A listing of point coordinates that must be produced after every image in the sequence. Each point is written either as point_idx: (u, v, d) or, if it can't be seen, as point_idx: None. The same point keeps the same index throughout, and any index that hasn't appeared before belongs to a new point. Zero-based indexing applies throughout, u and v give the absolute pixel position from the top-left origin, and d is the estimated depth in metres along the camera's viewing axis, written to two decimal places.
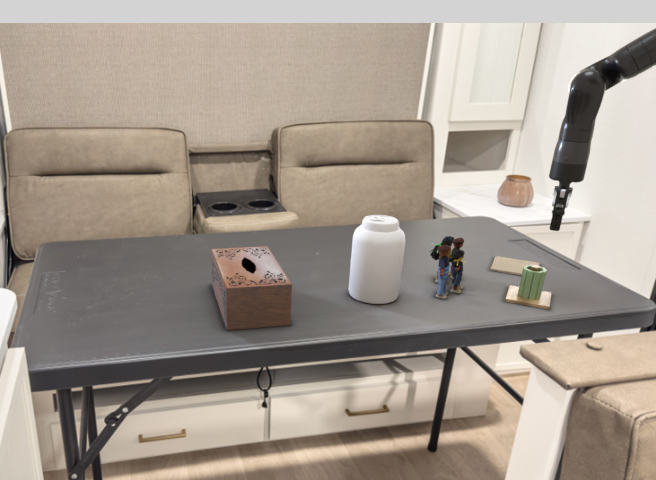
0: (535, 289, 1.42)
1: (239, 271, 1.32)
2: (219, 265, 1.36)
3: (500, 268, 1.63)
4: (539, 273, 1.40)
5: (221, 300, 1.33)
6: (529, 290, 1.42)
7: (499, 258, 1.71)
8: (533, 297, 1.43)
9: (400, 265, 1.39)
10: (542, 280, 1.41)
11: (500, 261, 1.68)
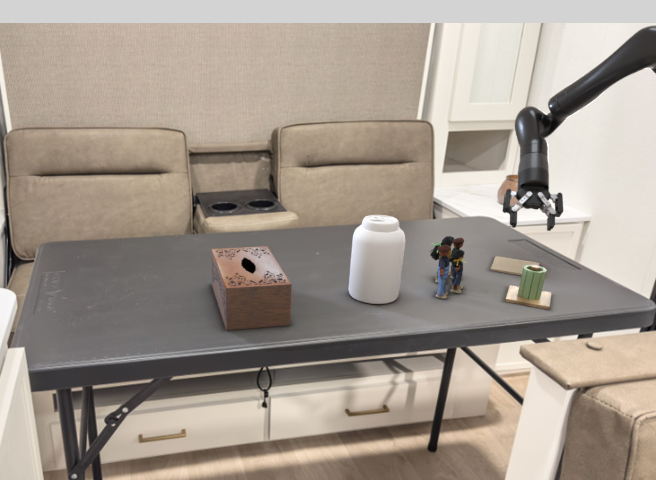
0: (535, 289, 1.42)
1: (239, 271, 1.32)
2: (219, 265, 1.36)
3: (500, 268, 1.63)
4: (539, 273, 1.40)
5: (221, 300, 1.33)
6: (529, 290, 1.42)
7: (499, 258, 1.71)
8: (533, 297, 1.43)
9: (400, 265, 1.39)
10: (542, 280, 1.41)
11: (500, 261, 1.68)
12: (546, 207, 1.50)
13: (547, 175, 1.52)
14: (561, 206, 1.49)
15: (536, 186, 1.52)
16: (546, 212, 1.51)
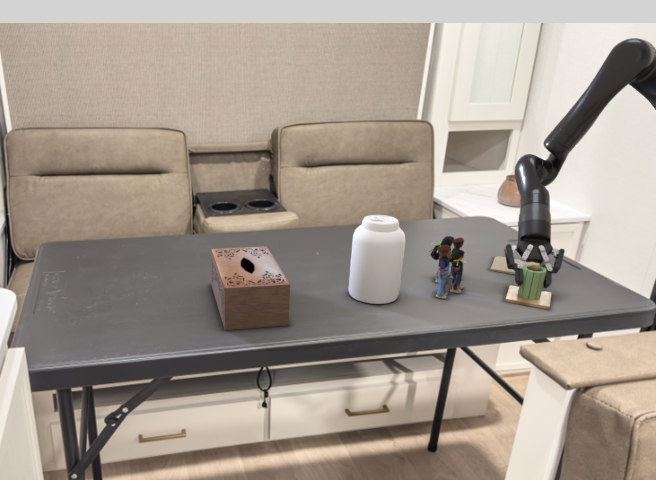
0: (535, 289, 1.42)
1: (238, 271, 1.32)
2: (218, 265, 1.36)
3: (500, 268, 1.63)
4: (539, 273, 1.40)
5: (220, 300, 1.33)
6: (529, 290, 1.42)
7: (499, 258, 1.71)
8: (533, 297, 1.43)
9: (400, 265, 1.39)
10: (542, 280, 1.41)
11: (500, 261, 1.68)
12: (544, 262, 1.43)
13: (549, 227, 1.45)
14: (559, 263, 1.42)
15: (537, 238, 1.45)
16: (544, 267, 1.44)
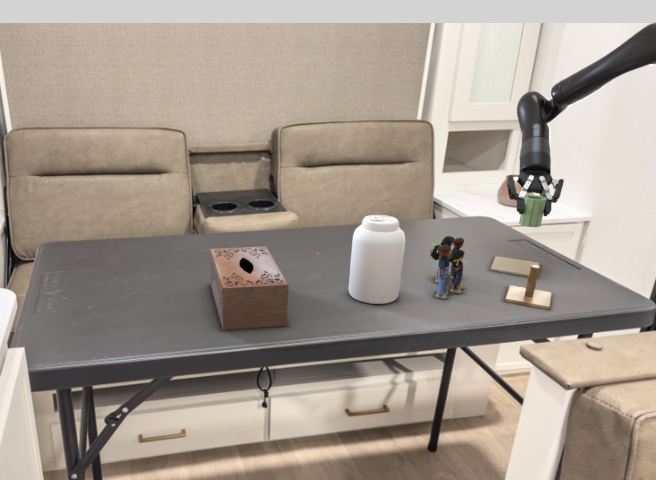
0: (536, 217, 1.49)
1: (236, 271, 1.32)
2: (217, 265, 1.36)
3: (500, 268, 1.63)
4: (539, 201, 1.48)
5: (218, 300, 1.33)
6: (530, 218, 1.50)
7: (499, 258, 1.71)
8: (534, 225, 1.50)
9: (400, 265, 1.39)
10: (542, 208, 1.49)
11: (500, 261, 1.68)
12: (544, 191, 1.50)
13: (549, 159, 1.52)
14: (559, 192, 1.50)
15: (538, 170, 1.52)
16: None
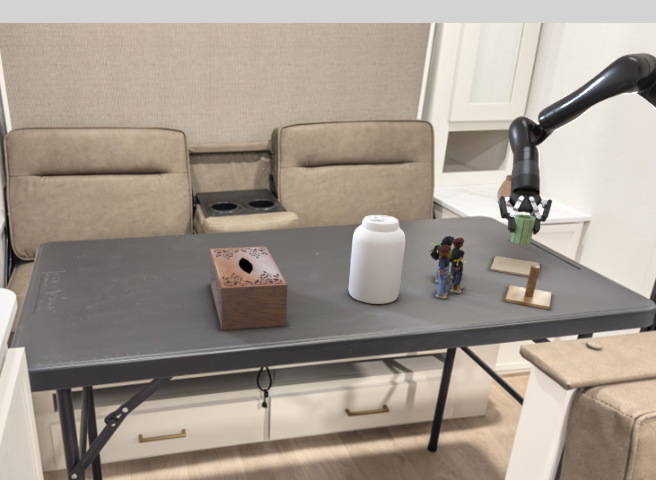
0: (525, 235, 1.59)
1: (236, 271, 1.32)
2: (216, 265, 1.36)
3: (500, 268, 1.63)
4: (529, 220, 1.57)
5: (217, 300, 1.33)
6: (520, 236, 1.60)
7: (499, 258, 1.71)
8: (524, 242, 1.60)
9: (400, 265, 1.39)
10: (532, 227, 1.59)
11: (500, 261, 1.68)
12: (533, 211, 1.60)
13: (538, 180, 1.62)
14: (547, 212, 1.59)
15: (528, 191, 1.62)
16: None
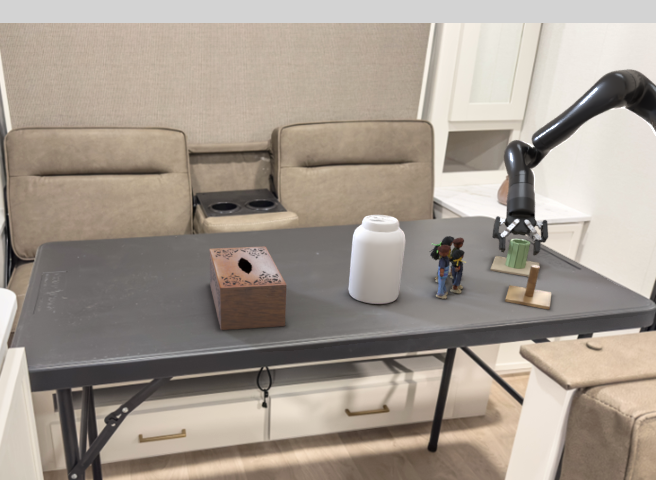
0: (520, 259, 1.62)
1: (235, 271, 1.32)
2: (215, 265, 1.36)
3: (500, 268, 1.63)
4: (524, 245, 1.60)
5: None
6: (515, 260, 1.63)
7: (499, 258, 1.71)
8: (519, 266, 1.63)
9: (400, 265, 1.39)
10: (526, 251, 1.62)
11: (500, 261, 1.68)
12: (532, 233, 1.63)
13: (533, 204, 1.65)
14: (546, 232, 1.62)
15: (523, 214, 1.65)
16: (532, 238, 1.64)
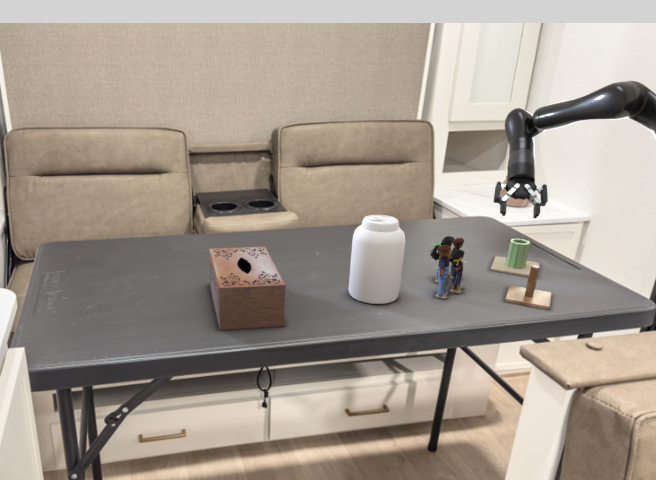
0: (520, 259, 1.62)
1: (234, 271, 1.32)
2: (215, 265, 1.36)
3: (500, 268, 1.63)
4: (524, 245, 1.60)
5: None
6: (515, 260, 1.63)
7: (499, 258, 1.71)
8: (519, 266, 1.63)
9: (400, 265, 1.39)
10: (526, 251, 1.62)
11: (500, 261, 1.68)
12: (532, 197, 1.68)
13: (533, 169, 1.70)
14: (546, 196, 1.67)
15: (523, 179, 1.70)
16: (532, 202, 1.70)
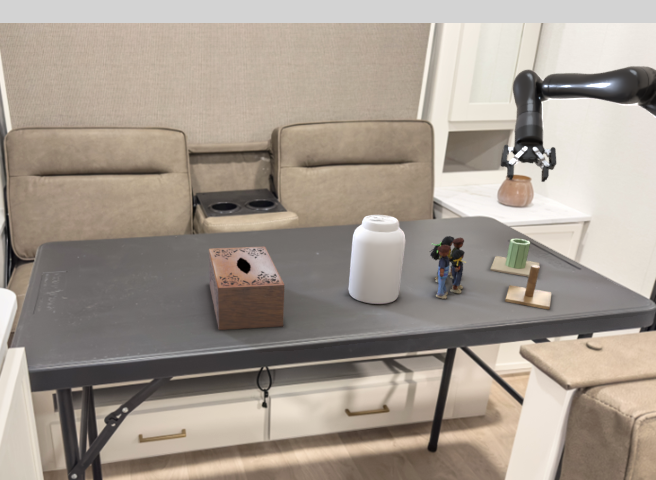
0: (520, 259, 1.62)
1: (233, 271, 1.32)
2: (214, 265, 1.36)
3: (500, 268, 1.63)
4: (524, 245, 1.60)
5: (215, 300, 1.33)
6: (515, 260, 1.63)
7: (499, 258, 1.71)
8: (519, 266, 1.63)
9: (400, 265, 1.39)
10: (526, 251, 1.62)
11: (500, 261, 1.68)
12: (540, 160, 1.63)
13: (541, 131, 1.65)
14: (554, 159, 1.63)
15: (531, 142, 1.65)
16: (541, 165, 1.65)
